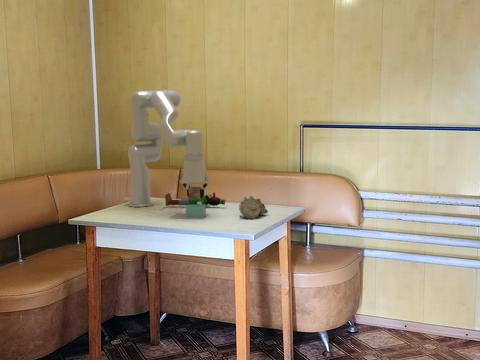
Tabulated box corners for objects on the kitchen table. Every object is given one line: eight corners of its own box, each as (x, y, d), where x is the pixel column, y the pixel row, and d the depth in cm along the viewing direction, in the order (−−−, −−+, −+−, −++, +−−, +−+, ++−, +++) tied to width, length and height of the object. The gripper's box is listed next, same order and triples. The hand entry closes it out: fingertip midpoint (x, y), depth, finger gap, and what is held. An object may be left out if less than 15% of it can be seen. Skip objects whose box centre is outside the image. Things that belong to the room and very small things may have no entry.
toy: (176, 188, 318) (231, 187, 312) (177, 203, 319) (232, 202, 313) (155, 199, 286) (216, 197, 280) (156, 215, 287) (217, 214, 281)
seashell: (235, 221, 271) (234, 200, 269) (249, 212, 284) (248, 192, 282) (257, 224, 267) (256, 202, 264) (270, 214, 279) (269, 193, 277)
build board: (169, 220, 270) (169, 218, 270) (176, 215, 282) (176, 213, 282) (203, 220, 267) (203, 219, 267) (209, 215, 279) (209, 213, 279)
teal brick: (186, 217, 272) (185, 206, 272) (189, 215, 277) (188, 204, 277) (203, 217, 271) (203, 206, 270) (205, 215, 276) (205, 204, 275)
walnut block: (189, 199, 271) (188, 188, 270) (191, 197, 276) (191, 186, 275) (199, 199, 270) (199, 188, 269) (202, 197, 275) (202, 186, 274)
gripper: (173, 158, 268) (175, 199, 271) (210, 158, 265) (212, 199, 268) (178, 157, 276) (180, 196, 278) (214, 156, 272) (215, 196, 275)
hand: (195, 197), depth 273 cm, fingers closed on walnut block, 5 cm apart
